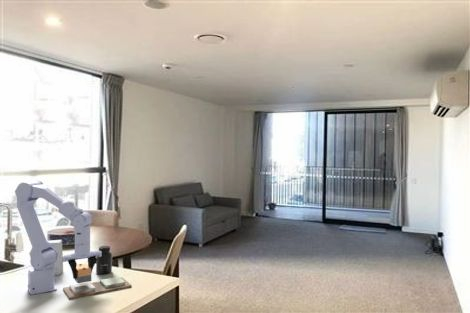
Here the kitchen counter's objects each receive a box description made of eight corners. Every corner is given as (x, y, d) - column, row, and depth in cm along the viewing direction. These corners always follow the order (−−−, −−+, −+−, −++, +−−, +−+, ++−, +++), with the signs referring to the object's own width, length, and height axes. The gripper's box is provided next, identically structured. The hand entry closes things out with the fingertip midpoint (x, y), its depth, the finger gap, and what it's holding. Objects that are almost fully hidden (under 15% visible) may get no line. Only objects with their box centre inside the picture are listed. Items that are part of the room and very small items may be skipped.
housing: (77, 283, 146) (77, 269, 146) (73, 277, 153) (73, 264, 153) (91, 281, 149) (91, 267, 149) (86, 275, 156) (86, 262, 156)
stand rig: (69, 299, 143) (69, 294, 143) (63, 290, 153) (63, 285, 153) (131, 287, 157) (131, 282, 157) (121, 279, 166) (122, 274, 166)
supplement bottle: (102, 276, 170) (103, 249, 170) (92, 273, 174) (93, 247, 174) (115, 272, 176) (115, 246, 176) (105, 269, 180) (105, 244, 179)
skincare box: (63, 271, 177) (63, 239, 177) (60, 275, 171) (60, 242, 171) (43, 272, 175) (43, 240, 175) (40, 276, 169) (40, 243, 169)
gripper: (64, 247, 144) (64, 283, 144) (103, 242, 152) (103, 276, 152) (61, 243, 149) (60, 277, 150) (98, 239, 158) (98, 271, 158)
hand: (82, 276), depth 151 cm, fingers closed on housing, 5 cm apart
